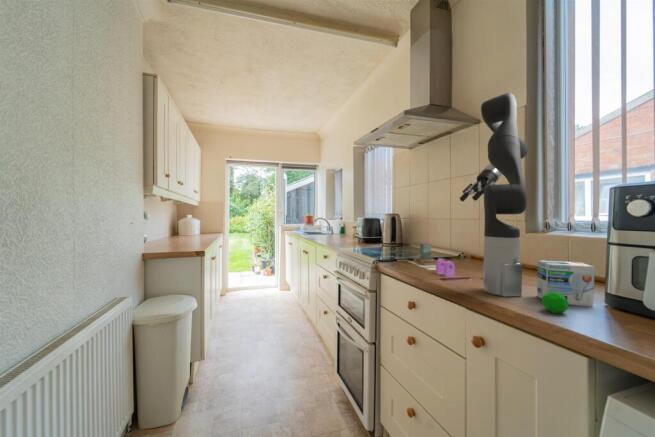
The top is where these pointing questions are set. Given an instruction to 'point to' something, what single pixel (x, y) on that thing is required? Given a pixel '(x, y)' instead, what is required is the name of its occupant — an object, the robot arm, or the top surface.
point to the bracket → (447, 269)
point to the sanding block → (425, 256)
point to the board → (424, 266)
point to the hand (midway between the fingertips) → (467, 199)
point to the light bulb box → (567, 281)
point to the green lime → (555, 302)
